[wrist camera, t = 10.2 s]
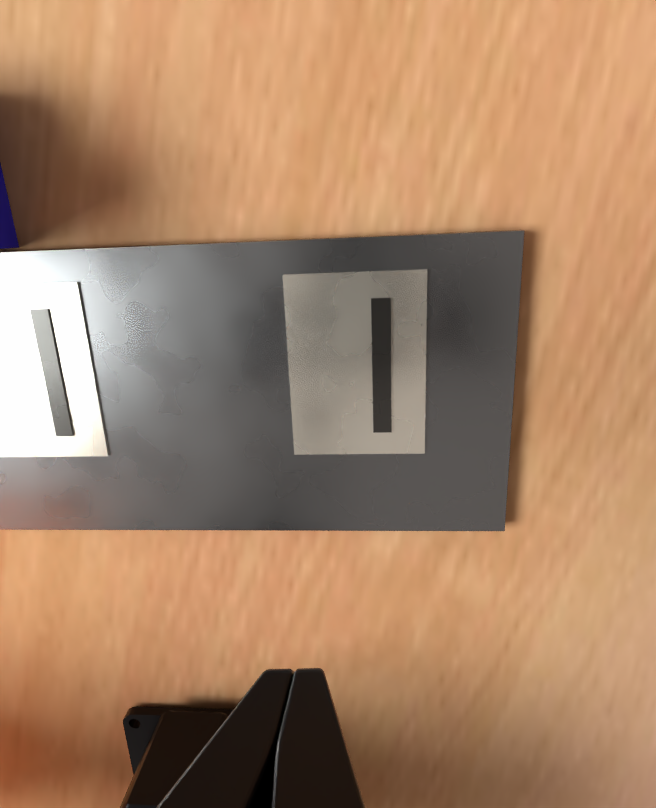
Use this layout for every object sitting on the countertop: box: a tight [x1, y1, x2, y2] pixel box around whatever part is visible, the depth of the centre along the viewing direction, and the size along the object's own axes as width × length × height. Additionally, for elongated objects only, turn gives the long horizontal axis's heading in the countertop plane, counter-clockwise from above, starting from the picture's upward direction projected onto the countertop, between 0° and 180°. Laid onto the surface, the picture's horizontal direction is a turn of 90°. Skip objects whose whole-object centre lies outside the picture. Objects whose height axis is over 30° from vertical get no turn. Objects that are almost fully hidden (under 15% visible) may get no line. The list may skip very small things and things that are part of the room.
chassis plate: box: [0, 230, 524, 531], centre depth 19 cm, size 10×22×1 cm, turn 92°
